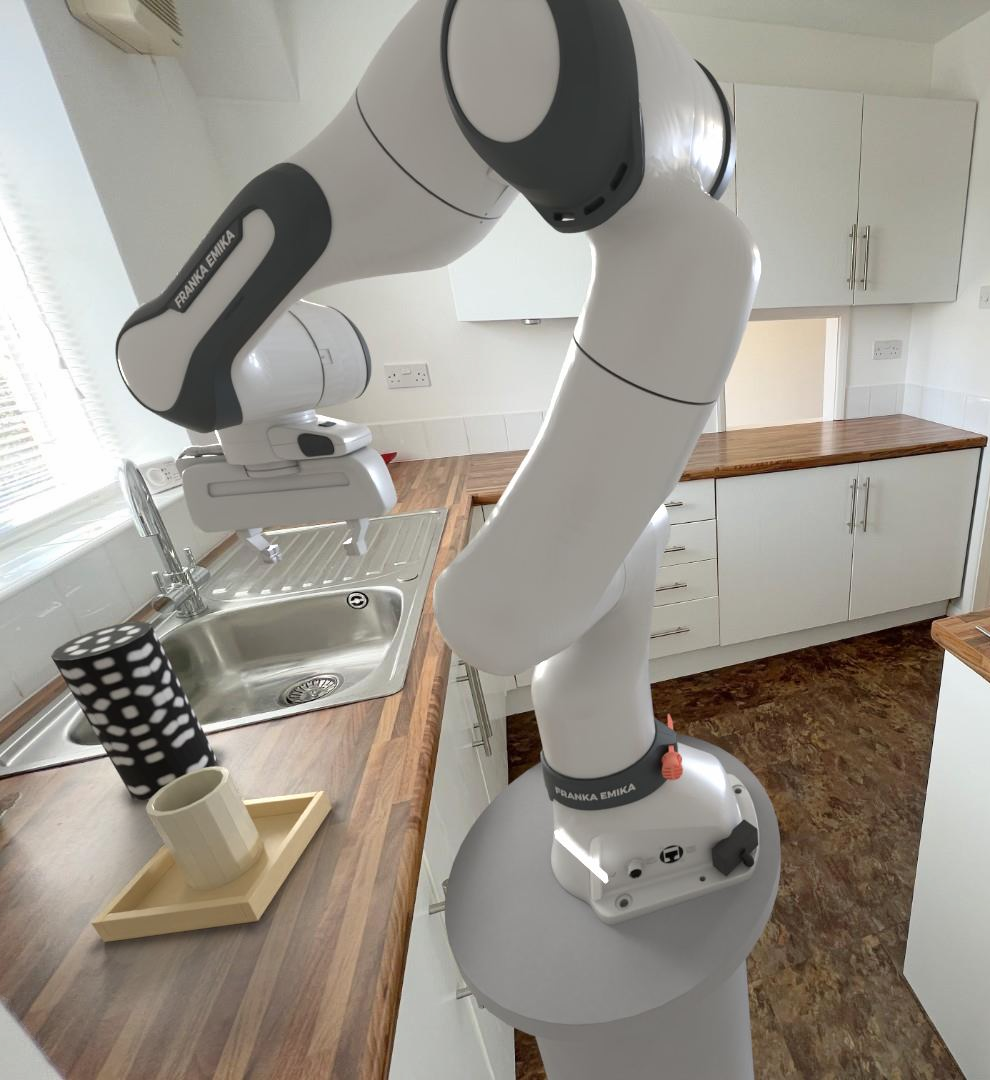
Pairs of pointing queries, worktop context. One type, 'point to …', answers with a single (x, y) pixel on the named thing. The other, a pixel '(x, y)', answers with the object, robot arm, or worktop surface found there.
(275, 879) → the tray
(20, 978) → the worktop surface
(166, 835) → the cup
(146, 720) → the spotted tube
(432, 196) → the robot arm
